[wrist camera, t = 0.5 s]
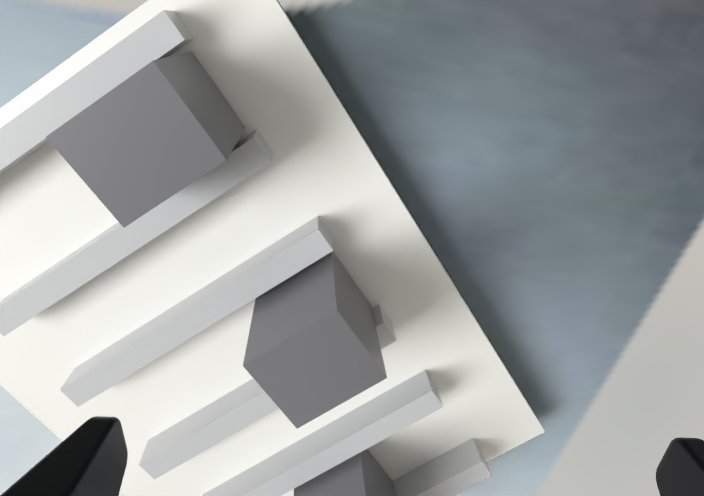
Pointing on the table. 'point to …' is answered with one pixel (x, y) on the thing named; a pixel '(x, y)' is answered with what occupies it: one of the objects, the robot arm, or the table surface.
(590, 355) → the table surface
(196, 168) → the block
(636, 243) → the table surface
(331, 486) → the block
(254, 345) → the block
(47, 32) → the table surface
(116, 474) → the robot arm
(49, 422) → the breaker board
